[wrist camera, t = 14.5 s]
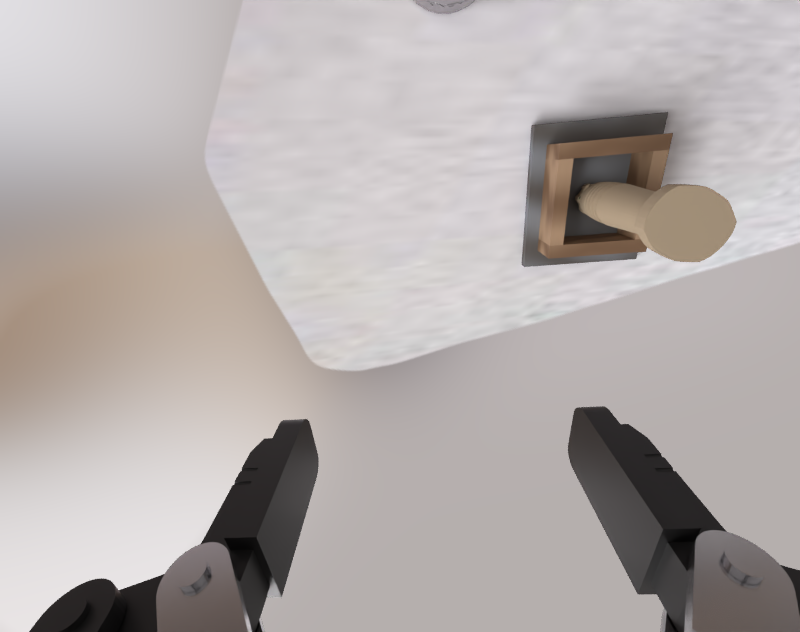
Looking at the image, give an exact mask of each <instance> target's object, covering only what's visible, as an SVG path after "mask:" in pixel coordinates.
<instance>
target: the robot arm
mask: <svg viewBox="0 0 800 632" xmlns="http://www.w3.org/2000/svg"><path fill="white" fill-rule="evenodd" d="M414 1H415V2H416V3H417V4H418V5H420V6H421V7H423V8H424V9H426V10H428V11H431V12H435V13H446V14H448V13H452V12H456V11H459V10H461V9H463V8H465V7H467V6H468V5H470V4H471V3H472V2H473V1H474V0H414ZM568 453H569V459H570V463H571V465H572V468H573V470H574V472H575V474H576V476H577V478H578V480H579V482H580V483H581V485H582V487H583V489H584V491H585V493H586V495H587V497H588V499H589V501H590V503H591V505H592V507H593V508H594V510H595V512H596V514H597V516H598V518H599V520H600V522H601V524H602V526H603V528H604V530H605V532H606V534H607V536H608V537H609V539H610V541H611V543H612V545H613V547H614V549H615V551H616V553H617V555H618V557H619V559H620V561H621V562H622V564H623V566H624V568H625V570H626V572H627V574H628V576H629V578H630V580H631V582H632V584H633V586H634V588H635V590H636V592H637V593H638V594H657V595H658V597H659V599H660V600H661V602H662V604H663V606H664V610H663V614H662V621H661V631H660V632H800V570H796V569H792V568H788V567H785V566H782V565H779V563H778V562H776V560H775V559H774V558H772V557H771V556H770V555H769V554H768V553H766V552H765V551H764V550H763V549H761V548H760V547H758V546H757V545H755V544H753V543H752V542H750V541H748V540H746V539H744V538H742V537H740V536H738V535H735V534H732V533H729V532H727V531H726V530H725V529H724V528H723V527H722V526H721V525H720V524H719V522H718V521H717V520H716V519H715V518H714V517H713V515H712V514H711V513H710V512H709V511H708V509H707V508H706V507H705V506H704V505H703V503H702V502H701V501H700V500H699V499H698V497H697V496H696V495H695V494H694V493H693V491H692V490H691V489H690V488H689V487H688V485H687V484H686V483H685V482H684V481H683V480H682V478H681V477H680V476H679V475H678V474H677V472H676V471H673V468H672V466H671V465H670V464H669V463H668V462H667V460H666V459H665V458H664V457H662V456H661V453H660V452H659V451H658V450H657V449H656V447H655V446H654V445H653V444H652V443H651V442H650V440H649V439H648V438H647V437H645V436H644V435H643V434H642V433H640V432H639V431H637V430H636V429H634V428H633V427H632V426H630V425H629V424H622V425H621V424H620V423H619V422H618V421H617V419H616V418H615V417H614V416H613V414H612V413H611V412H610V411H609V410H608V409H607V408H606V407H581V408H576V409H575V411H574V415H573V421H572V426H571V433H570V438H569V445H568ZM317 473H318V454H317V450H316V446H315V442H314V438H313V434H312V430H311V426H310V423H309V421H308V420H307V419H303V420H302V419H301V420H283V421H282V422H281V423H280V424H279V426H278V429H277V430H276V432H275V434H274V436H273V438H270V439H264V440H263V441H262V442H261V443H260V444H259V445H258V446H256V447H255V448H254V449H253V450H252V452H251V453H250V454H249V456H248V458H247V460H246V462H245V464H244V465H243V467H242V471H241V472H240V473H239V475H238V477H237V478H236V480H235V484H234V485H233V486H232V488H231V490H230V491H229V493H228V495H227V497H226V499H225V501H224V503H223V504H222V506H221V508H220V510H219V512H218V514H217V516H216V517H215V519H214V521H213V523H212V525H211V527H210V529H209V530H208V532H207V534H206V536H205V538H204V540H203V541H202V543H201V544H200V545H198V546H195V547H193V548H191V549H190V550H188V551H187V552H185V553H184V554H183V555H181V556H180V557H179V558H178V559H177V560H176V561H175V562H174V563H173V564H172V565H171V566H170V567H169V569H168V570H167V572H166V573H165V574H163V575H161V576H158V577H155V578H153V579H150V580H147V581H144V582H142V583H138V584H136V585H133V586H130V587H127V588H124V589H122V590H118V589H117V588H116V587H115V585H114V584H113V583H112V582H111V581H110V580H107V579H95V580H91V581H88V582H85V583H83V584H81V585H79V586H77V587H75V588H74V589H72V590H70V591H69V592H67V593H66V594H65V595H63V596H62V597H61V598H59V600H57V601H56V602H55V603H54V604H53V605H51V606H50V607H49V608H48V609H47V611H46V612H45V613H44V614H43V615H42V616H41V617H40V619H39V620H38V621H37V622H36V623H35V625H34V626H33V628H32V629H31V630H30V631H29V632H265V631H264V627H263V623H262V621H261V617H260V616H261V613H262V610H263V607H264V603H265V600H266V597H282V594H283V591H284V587H285V584H286V581H287V577H288V573H289V570H290V567H291V563H292V560H293V557H294V553H295V550H296V546H297V542H298V539H299V536H300V532H301V529H302V525H303V522H304V519H305V515H306V512H307V508H308V505H309V502H310V498H311V495H312V491H313V487H314V484H315V481H316V477H317Z"/></svg>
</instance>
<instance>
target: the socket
mask: <svg viewBox="0 0 800 632" xmlns="http://www.w3.org/2000/svg"><path fill="white" fill-rule="evenodd" d="M667 115H668V112H666V113H655V114H645V115H634V116H624V117H614V118H603V119H593V120H582V121H572V122H561V123H551V124H541V125H533V126H532V128H531V142H530V156H529V170H528V184H527V198H526V212H525V226H524V240H523V254H522V265H523V266H524V267H529V266H543V265H557V264H571V263H585V262H599V261H613V260H627V259H636V257H637V253H638V252H646V249H647V247H646V246H645V245H644V243H643V242H642V240H641V239H640V237H639V235H638V234H636V233H633V232H629V231H626V230H622V229H618V228H615V227H611V226H607V225H605V224H603V223H600V222H598V221H596V220H594V219H592V218H591V217H589V216H588V215H586V214H584V213H582V212H581V211H580V210H579V209H578V208H579V205H578V203H577V201H576V200H575V196H576V195H577V194H578V193H579V192H580V191H581V189H582V186H583V185H585V184H595V183H598V182H620V183H626V184H631V185H634V186H637V187H641V188H644V189H648V190H651V191H655V192H656V191H657V190H659V189H660V188H661V183H662V179H663V175H664V170H665V166H666V161H667V157H668V153H669V148H670V144H671V139H672V135H673V133H669V134H663V133H664V128H665V124H666V119H667Z"/></svg>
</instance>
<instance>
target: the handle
mask: <svg viewBox="0 0 800 632" xmlns="http://www.w3.org/2000/svg"><path fill="white" fill-rule="evenodd" d="M575 200H576V201H577V203H578V205H579V208H578V209H579V210H580V211H581V212H582V213H584V214H586V215H588V216H589V217H591V218H592V219H594V220H596V221H598V222H600V223H603V224H605V225H607V226H611V227H615V228H618V229H622V230H626V231H629V232H633V233H636V234H638V235H639V237H640V239H641V240H642V242H643V243H644V245H645V246H646V247H647V248H649V249H651V250H652V251H654V252H656V253H658V254H660V255H662V256H664V257H666V258H668V259H671V260H674V261H680V262H700V261H702V260H705V259H706V258H708V257H710V256H711V255H713V254H714V253H715V252H717V251H718V250H719V249H720V248H721V247H722V246H723V245H724V244H725V242H726V241H727V240H728V239H729V237H730V236H731V234H732V233H733V230H734V228H735V225H736V219H735V216H734V213H733V210H732V207H731V205H730V203H729V202H728V200H727V199H725V198H724V197H723V196H721V195H720V194H718V193H717V192H715V191H714V190H712V189H710V188H707V187H704V186H698V185H685V184H668V185H666V186H664V187H662V188H660V189H659V190H657V191H656V192H655V191H651V190H648V189H644V188H641V187H637V186H634V185H631V184H626V183H620V182H598V183H595V184H585V185H583V186H582V189H581V191H580V192H579V193H578V194H577V195H576V196H575Z"/></svg>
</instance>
